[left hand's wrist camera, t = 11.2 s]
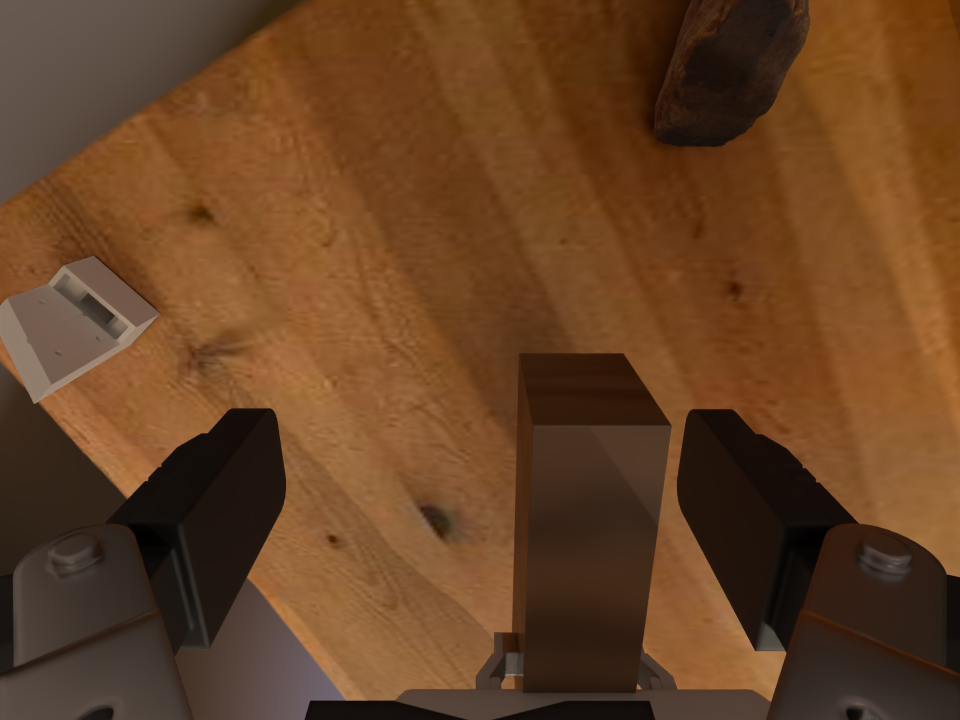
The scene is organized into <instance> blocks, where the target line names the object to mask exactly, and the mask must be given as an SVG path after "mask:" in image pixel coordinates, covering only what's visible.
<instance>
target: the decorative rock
mask: <svg viewBox="0 0 960 720" xmlns="http://www.w3.org/2000/svg"><path fill="white" fill-rule="evenodd" d="M808 10H809V7H808V0H691V2H690V4H689V7H688V9H687V12H686V15H685V17H684V20H683V23H682V26H681V29H680V32H679V35H678V39H677V43H676V46H675V50H674V53H673V56H672V59H671V62H670V64H669V67H668V70H667V73H666V76H665V80H664V83H663V86H662V88H661V91H660V93H659V95H658V99H657V102H656V106H655V112H654V114H655V123H654V135H655V138H656V139H657V140H659V141H661V142H663V143H664V144H671V145H676V146H710V147H717V146H722V145H724V144H725V143H726V142H728V141H730V140H733V139H735V138H736V137H737V136H739V135H741V134H743V133H745V132H746V130H747V129H749V128H750V127H751V126H752V125H753V124H754V122H755V120H756V119H757V118H758V117H760V116H762V115H763V114H765V113H766V112H767V111H768V110H769V109H770V108H771V106H772V105H773V103H774V101H775V99H776V97H777V93H778V91H779V89H780V87H781V85H782V82H783V80H784V77H785V75H786V72H787V71H788V69H789V68H790V66H791V64H792V63H793V61H794V59H795V58H796V56H797V55H798V54H799V52H800V51H801V49H802V47H803V45H804V43H805V41H806V37H807V33H808V30H809V24H810V17H809V13H808Z"/></svg>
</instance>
